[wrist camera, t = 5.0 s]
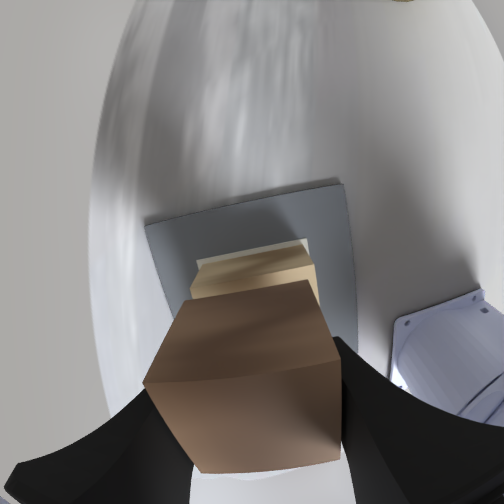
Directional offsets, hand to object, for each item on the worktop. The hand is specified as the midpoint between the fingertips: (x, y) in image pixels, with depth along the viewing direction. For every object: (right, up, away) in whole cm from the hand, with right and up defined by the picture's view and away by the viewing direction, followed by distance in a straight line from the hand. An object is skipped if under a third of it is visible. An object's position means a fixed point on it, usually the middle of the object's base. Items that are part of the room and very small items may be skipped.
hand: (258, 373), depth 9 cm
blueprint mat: (0, +1, +9) cm, 9 cm away
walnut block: (0, +1, +1) cm, 2 cm away
